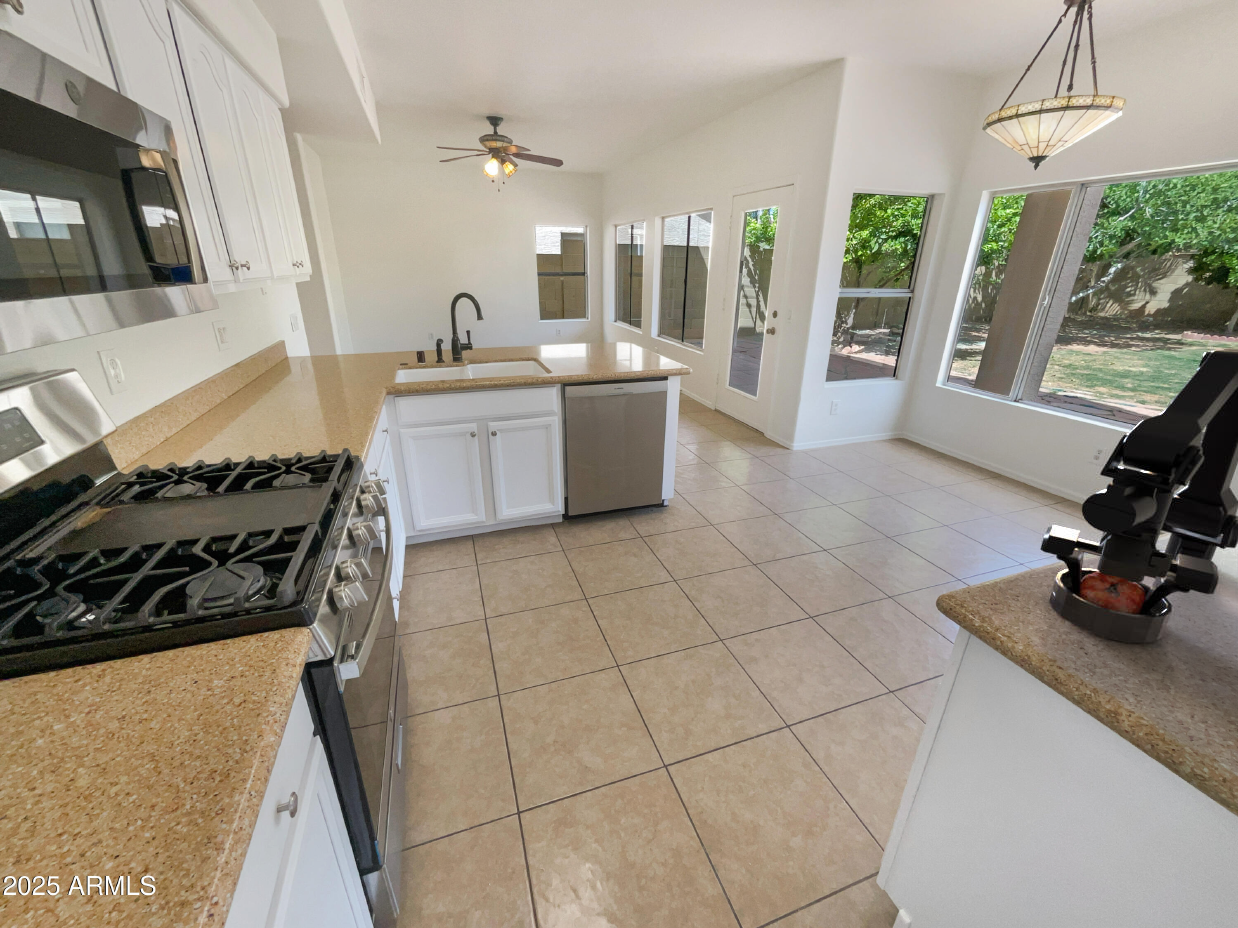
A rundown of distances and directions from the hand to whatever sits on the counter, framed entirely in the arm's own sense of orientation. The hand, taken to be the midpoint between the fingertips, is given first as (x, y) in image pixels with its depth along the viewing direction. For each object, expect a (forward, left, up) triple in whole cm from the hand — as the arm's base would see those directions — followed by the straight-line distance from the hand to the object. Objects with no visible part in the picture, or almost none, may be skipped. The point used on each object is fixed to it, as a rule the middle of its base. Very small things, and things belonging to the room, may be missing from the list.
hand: (1107, 603), depth 80 cm
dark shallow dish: (0, 0, -3) cm, 3 cm away
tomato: (0, 0, -2) cm, 2 cm away
